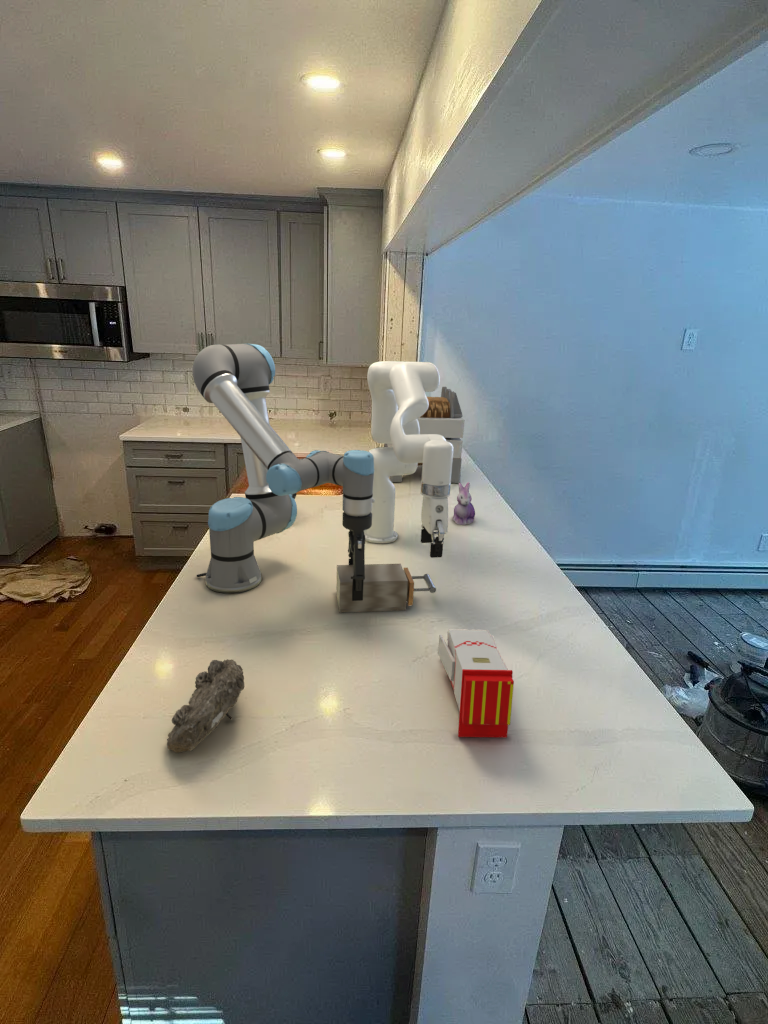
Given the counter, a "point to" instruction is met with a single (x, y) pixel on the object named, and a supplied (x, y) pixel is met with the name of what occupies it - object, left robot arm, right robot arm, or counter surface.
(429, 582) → the drawer
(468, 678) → the toy
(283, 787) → the counter surface
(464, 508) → the figurine
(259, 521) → the left robot arm
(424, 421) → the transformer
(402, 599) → the grey boxy block
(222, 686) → the fossil
